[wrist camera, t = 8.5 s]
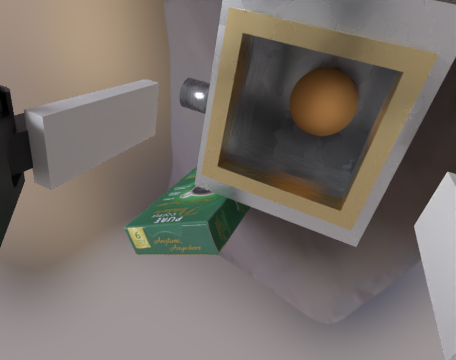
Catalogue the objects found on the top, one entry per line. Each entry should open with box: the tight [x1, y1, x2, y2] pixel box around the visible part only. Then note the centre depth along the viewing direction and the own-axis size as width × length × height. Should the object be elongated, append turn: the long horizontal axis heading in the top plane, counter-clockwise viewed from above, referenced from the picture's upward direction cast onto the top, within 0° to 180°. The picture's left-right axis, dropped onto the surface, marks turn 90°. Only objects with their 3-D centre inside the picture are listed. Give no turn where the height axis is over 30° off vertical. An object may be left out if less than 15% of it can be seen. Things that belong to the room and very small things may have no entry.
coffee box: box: [124, 167, 250, 255], centre depth 28 cm, size 8×3×13 cm, turn 108°
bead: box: [289, 68, 358, 136], centre depth 24 cm, size 5×5×5 cm
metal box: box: [180, 0, 456, 247], centre depth 23 cm, size 14×16×12 cm
